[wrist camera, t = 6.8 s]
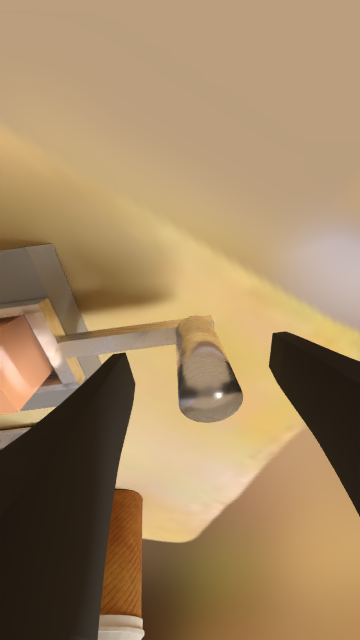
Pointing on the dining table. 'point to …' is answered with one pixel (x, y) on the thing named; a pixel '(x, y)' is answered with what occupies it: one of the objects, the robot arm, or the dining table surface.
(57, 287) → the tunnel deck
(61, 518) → the robot arm
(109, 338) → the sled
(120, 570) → the disposable coffee cup
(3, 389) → the terracotta block
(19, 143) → the dining table surface
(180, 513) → the dining table surface
